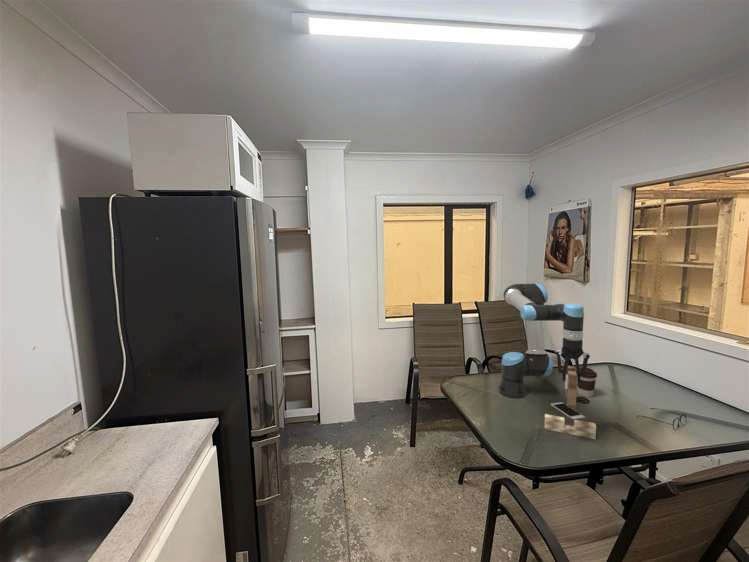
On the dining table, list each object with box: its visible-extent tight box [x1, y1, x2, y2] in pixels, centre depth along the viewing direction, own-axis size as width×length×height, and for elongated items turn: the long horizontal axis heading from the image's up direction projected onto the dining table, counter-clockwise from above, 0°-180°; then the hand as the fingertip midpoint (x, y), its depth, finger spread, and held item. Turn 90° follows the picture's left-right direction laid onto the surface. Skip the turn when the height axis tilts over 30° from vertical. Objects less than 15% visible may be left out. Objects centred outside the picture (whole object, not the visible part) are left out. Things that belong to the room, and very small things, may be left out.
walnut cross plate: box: [564, 365, 578, 410], centre depth 142 cm, size 12×3×15 cm, turn 153°
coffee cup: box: [575, 367, 598, 398], centre depth 179 cm, size 10×10×15 cm
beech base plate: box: [544, 413, 597, 440], centre depth 145 cm, size 20×3×6 cm, turn 63°
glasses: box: [636, 407, 687, 431], centre depth 153 cm, size 14×15×5 cm
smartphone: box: [550, 401, 586, 421], centre depth 163 cm, size 7×16×1 cm, turn 11°
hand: (570, 388), depth 143 cm, fingers closed on walnut cross plate, 3 cm apart
